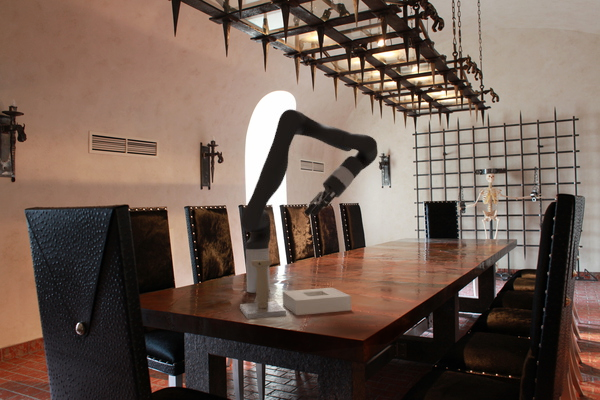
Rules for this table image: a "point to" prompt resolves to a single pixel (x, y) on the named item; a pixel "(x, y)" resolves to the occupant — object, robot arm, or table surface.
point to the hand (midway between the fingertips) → (309, 214)
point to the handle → (262, 282)
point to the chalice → (258, 256)
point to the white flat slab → (262, 310)
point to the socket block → (316, 301)
